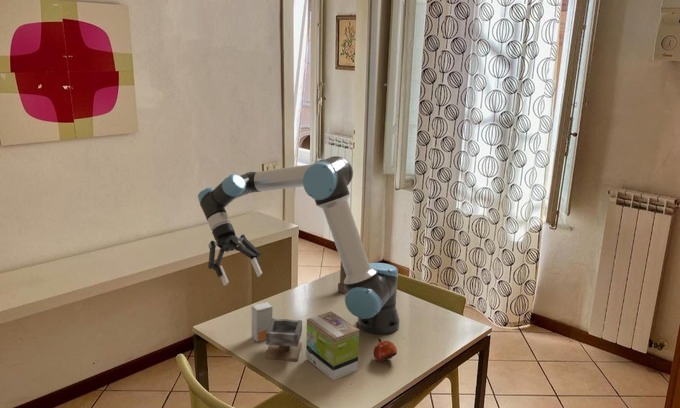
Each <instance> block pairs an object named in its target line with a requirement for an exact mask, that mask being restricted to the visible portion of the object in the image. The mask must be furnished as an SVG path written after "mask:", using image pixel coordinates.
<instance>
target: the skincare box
mask: <svg viewBox="0 0 680 408" xmlns="http://www.w3.org/2000/svg"><path fill="white" fill-rule="evenodd" d="M273 310H274V308H273V305H271V304H270V303H269V302H268V301H267V302H262V303H257V304H254V305H251V338H252V339H253V340H254V341H255V342H256V343H258V342H261V341H266V332H267V329H268V327H269V324H270V322H271V319H273Z"/></svg>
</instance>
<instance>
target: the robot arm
mask: <svg viewBox="0 0 680 408" xmlns="http://www.w3.org/2000/svg"><path fill="white" fill-rule="evenodd" d="M353 177H354V170H353V166H352V165H351V163H350V161H348V159H346V158H344V157H342V156H337V155H336V156H335V155H334V156H330V157H328V158H324V159H319V160H317V161H316V162H314V163H312V164H311V163H310V164H304V165H297V166H289V167H282V168H275V169H269V170H262V171H249V172H245V173H244V174H241V175H239V174H236V173H231V174H229V176H227V177H226V178H224V179H223V180H222V181H221V182H220V183H219V184H218V185H217V186H216V187H213V186H212V187H206V188H204V189H202V190H201V191H200V192H199V193H198V194H197V199H198V202H199V206H200V207H201V209H202V212H203V213H204V214H203V215H204V216H205V219H206V222H207V223H208V226H209V228H210V229H209V230H210V231H211V234H212V236H213V239H214V240H215V241H214V240H210V242H209V244H208V248H209V255H208V256H209V257H208V265H207V268H208V269H210V270H211V269H212V270H213V271H215V273H216V275H217V277H218V278H220V280H221V282H222V284H223V286H224V287H225V286H227V285H228V284H229V279H228V276H227V275H226V271H225V269H224V267H223V265H220V264H221V261H222V260H223V256H224V253H225V252H226V253H228V252H233V251H237V252H240V253H241V254H243V255H244V256H246V257H248V258H249V259H251V261H250V262H251V265H252V267H253V270H254V272H255V275H256V277H257V278H260V277H261V276H262V275H263V270H262V269H261V262H260V261H259V257H260V256H261V254H262V253H261V251H260V250H259V249H257V247H256V246H255V245H254V244H252V242H250V241H249V239H247V237H246V235H245V234H241V235H239V236H237V235H236V231H235V229H234V227H233V225H232V222H231V220H230V217H229V215H228V213H227V210H226V209H225V208H226V207H227V206H228V205H229V204H230V203H232V202H233V201H234V200H236V199H238V198H240V197H243V196H247V195H248V194H253V193H260V192H267V191H277V190H286V189H293V188H303V189H304V192H305V193H306V194H307V195H308V196H309V197H311V198H312V199H313V200H314V202H315V205H316V206H317V207H318V208H320V209H322V211H323V214H324V215H325V219H326V222H327V225H328V228H329V230H330V233H331V236H332V238H333V241H334V245H335V247H336V251H337V253H338V255H339V258H340V263H341V262H342V265H343V267H344V270H345V273H346V278H345V280H344V284H345V287H346V290H347V293H345V297H344V303H345V306H346V308H347V310H348V312H350V314H351V315H353V316H355V317H357V325H358V327H359V328H360V329H361V330H362V331H364V332H367V333H370V334H374V335H375V334H376V335H386V334H387V335H389V334H392V333H394V332H396V331H397V330H398V329H400V323H401V322H400V317H399V313H398V310H397V305H396V304H397V291H398V290H397V289H398V280H399V279H398V278H399V274H398V273H399V270H398V267H396V266H394V265H392V264H390V263H384V262H370V261H369V258H368V256H367V254H366V251H365V248H364V247H365V246H364V245H363V242H362V239H361V236H360V233H359V230H358V228H357V225H356V222H355V219H354V216H353V213H352V209H351V207H350V205H349V201H348V199H349V197H350V195H351V194H350V191H349V187H348V186H349V185H350V183H351V182H352V180H353ZM216 247H218V248H219V252H218V255H217V257H215V256H216ZM215 258H216V259H215Z"/></svg>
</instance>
